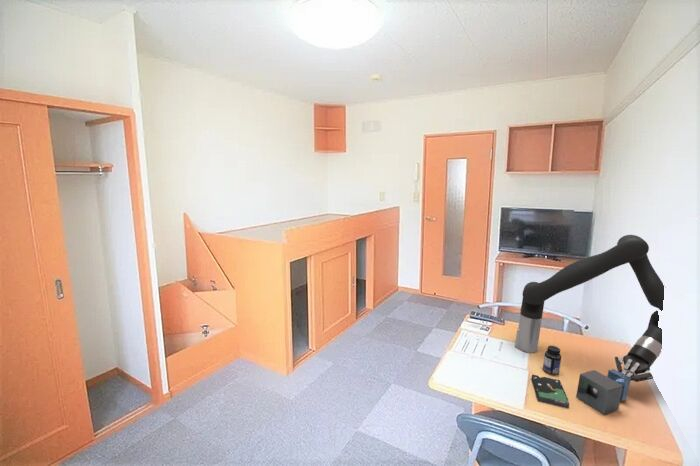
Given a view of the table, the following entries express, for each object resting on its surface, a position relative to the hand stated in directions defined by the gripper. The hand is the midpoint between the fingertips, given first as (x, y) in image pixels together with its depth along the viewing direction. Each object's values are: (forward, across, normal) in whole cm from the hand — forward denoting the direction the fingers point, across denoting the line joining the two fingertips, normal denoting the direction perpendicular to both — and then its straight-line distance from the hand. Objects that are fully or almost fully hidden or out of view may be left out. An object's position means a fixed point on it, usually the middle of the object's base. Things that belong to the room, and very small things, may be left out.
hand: (620, 384), depth 126 cm
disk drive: (+21, -10, -13) cm, 27 cm away
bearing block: (+12, 0, -6) cm, 14 cm away
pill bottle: (+11, -20, -4) cm, 24 cm away
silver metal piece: (+8, 0, -3) cm, 9 cm away
